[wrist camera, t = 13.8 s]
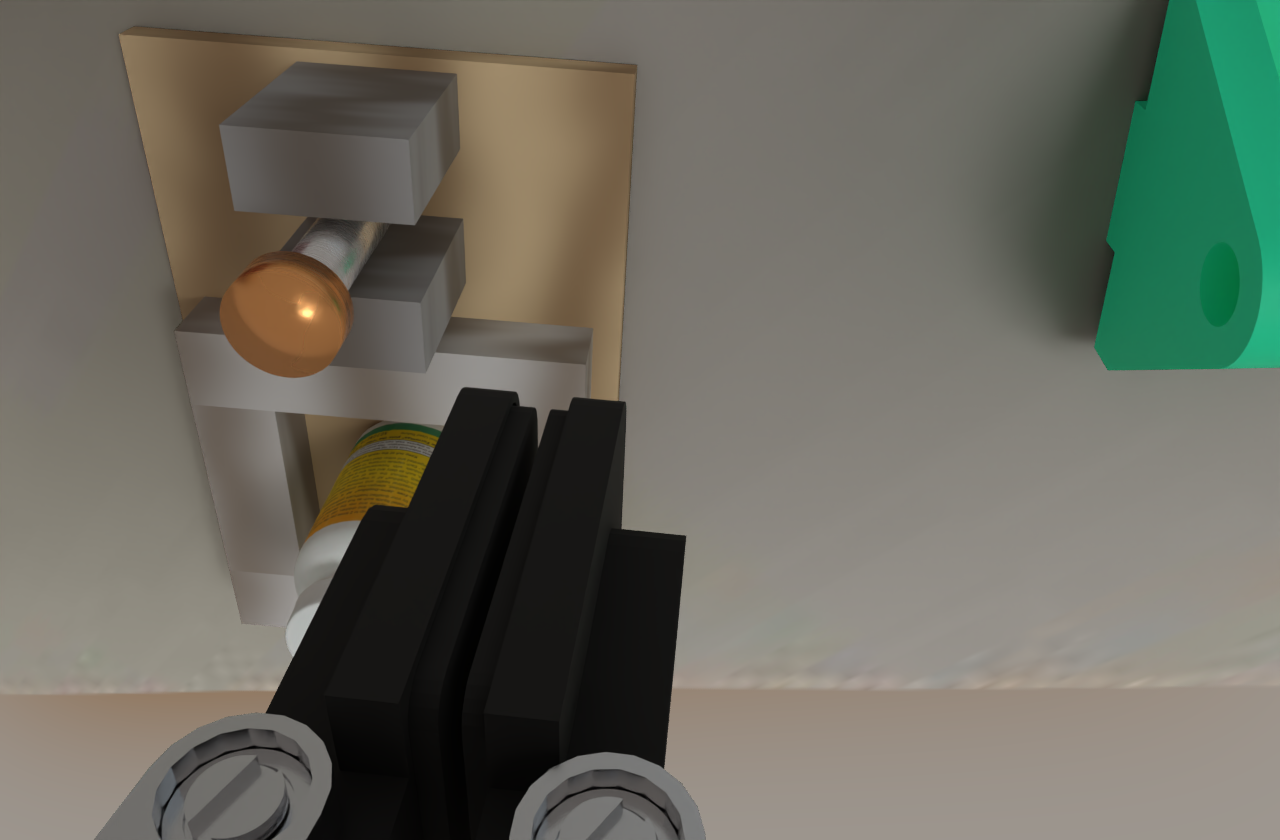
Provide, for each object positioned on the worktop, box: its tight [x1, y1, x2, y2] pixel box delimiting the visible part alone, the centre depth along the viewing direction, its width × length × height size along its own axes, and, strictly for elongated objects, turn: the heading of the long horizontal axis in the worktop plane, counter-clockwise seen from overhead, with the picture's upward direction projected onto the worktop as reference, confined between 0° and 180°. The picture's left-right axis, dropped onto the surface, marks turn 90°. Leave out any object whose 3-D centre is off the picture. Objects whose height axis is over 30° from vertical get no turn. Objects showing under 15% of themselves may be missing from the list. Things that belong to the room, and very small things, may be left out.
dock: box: [119, 26, 637, 627], centre depth 36 cm, size 16×23×7 cm
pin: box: [220, 218, 392, 378], centre depth 29 cm, size 3×3×9 cm
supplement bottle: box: [285, 421, 444, 657], centre depth 37 cm, size 5×5×10 cm
